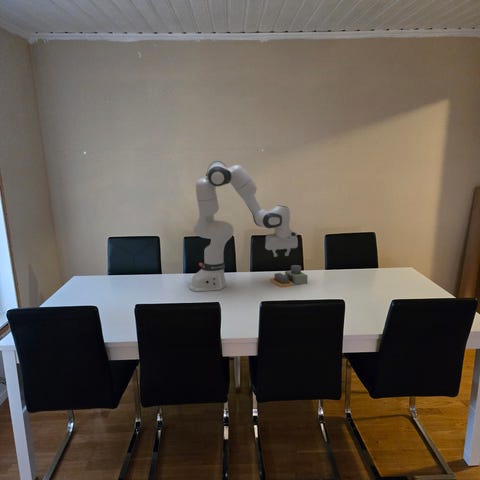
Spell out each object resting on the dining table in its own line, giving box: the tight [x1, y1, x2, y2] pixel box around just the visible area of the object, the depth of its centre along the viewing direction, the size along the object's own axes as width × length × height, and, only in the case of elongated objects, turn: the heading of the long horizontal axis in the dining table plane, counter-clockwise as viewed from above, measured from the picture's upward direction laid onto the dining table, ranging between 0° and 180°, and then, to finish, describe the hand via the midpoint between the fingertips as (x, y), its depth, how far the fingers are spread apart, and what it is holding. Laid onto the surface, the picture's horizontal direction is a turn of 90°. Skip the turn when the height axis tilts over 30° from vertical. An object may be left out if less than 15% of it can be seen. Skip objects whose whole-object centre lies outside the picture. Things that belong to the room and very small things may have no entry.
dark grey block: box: [273, 272, 288, 284], centre depth 228 cm, size 4×10×5 cm, turn 22°
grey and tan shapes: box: [269, 264, 309, 288], centre depth 230 cm, size 18×14×9 cm
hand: (281, 256), depth 226 cm, fingers open, 6 cm apart
